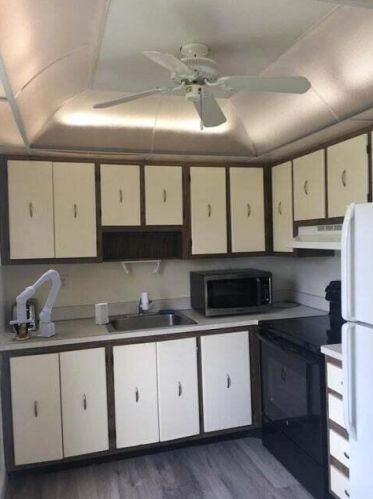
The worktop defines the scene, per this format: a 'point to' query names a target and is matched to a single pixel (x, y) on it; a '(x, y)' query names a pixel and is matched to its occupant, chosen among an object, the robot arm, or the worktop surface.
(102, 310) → the skincare box
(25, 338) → the coaster
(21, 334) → the walnut cylinder
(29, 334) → the low wall
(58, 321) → the worktop surface
